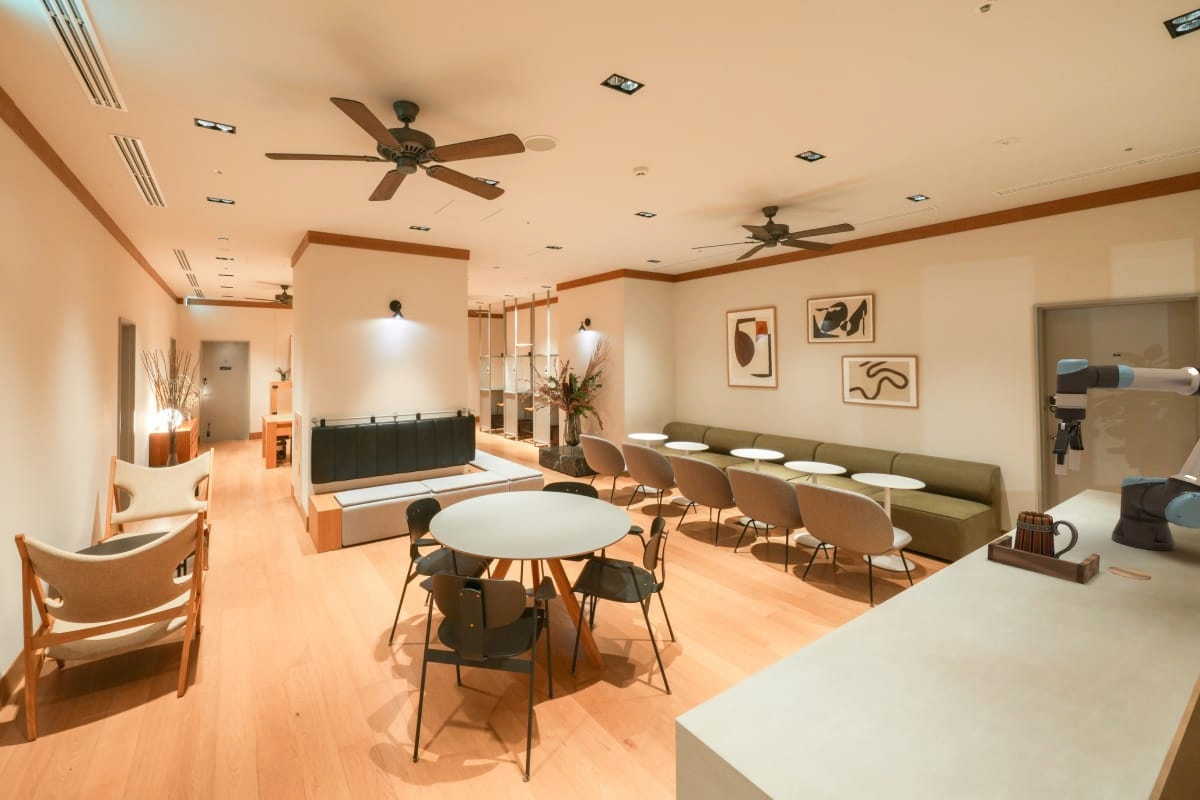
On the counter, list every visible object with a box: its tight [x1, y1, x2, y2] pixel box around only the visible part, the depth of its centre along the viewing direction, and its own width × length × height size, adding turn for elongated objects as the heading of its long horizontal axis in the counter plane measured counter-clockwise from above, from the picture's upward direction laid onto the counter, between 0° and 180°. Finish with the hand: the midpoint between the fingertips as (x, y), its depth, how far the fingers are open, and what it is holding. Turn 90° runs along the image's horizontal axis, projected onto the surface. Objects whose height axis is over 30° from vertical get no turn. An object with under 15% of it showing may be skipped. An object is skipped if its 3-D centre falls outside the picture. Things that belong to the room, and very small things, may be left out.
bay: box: [986, 535, 1101, 585], centre depth 163 cm, size 16×23×5 cm
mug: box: [1012, 510, 1079, 559], centre depth 164 cm, size 16×11×15 cm
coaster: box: [1107, 565, 1152, 581], centre depth 156 cm, size 9×9×1 cm
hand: (1067, 472), depth 173 cm, fingers open, 13 cm apart
